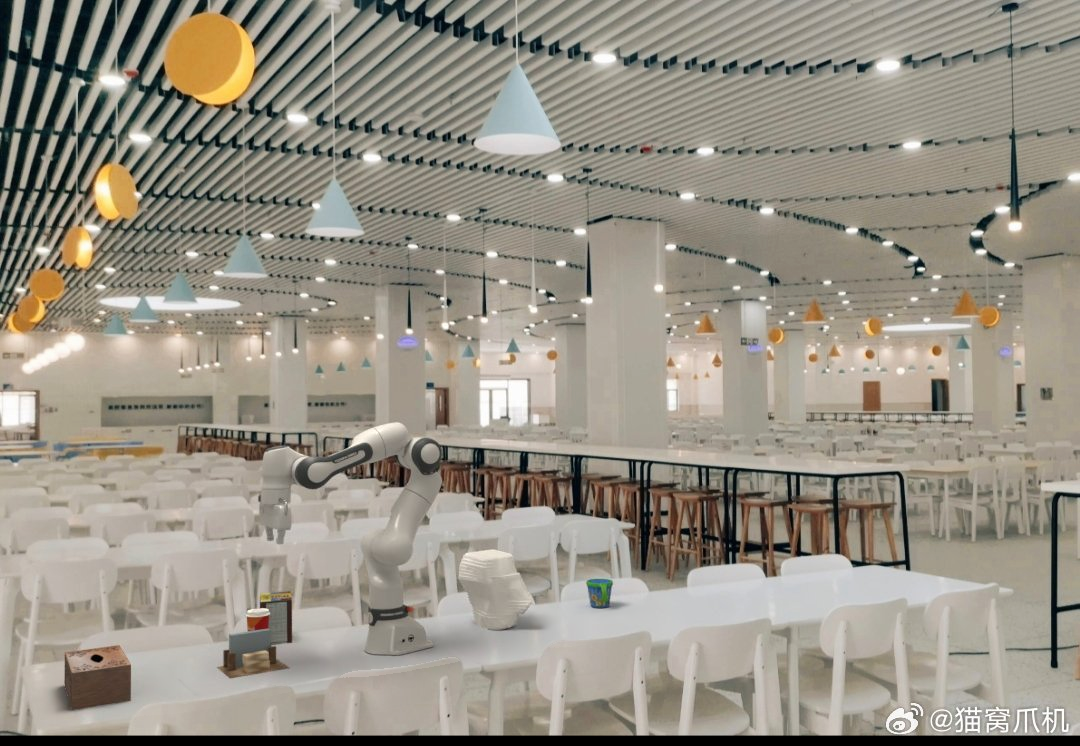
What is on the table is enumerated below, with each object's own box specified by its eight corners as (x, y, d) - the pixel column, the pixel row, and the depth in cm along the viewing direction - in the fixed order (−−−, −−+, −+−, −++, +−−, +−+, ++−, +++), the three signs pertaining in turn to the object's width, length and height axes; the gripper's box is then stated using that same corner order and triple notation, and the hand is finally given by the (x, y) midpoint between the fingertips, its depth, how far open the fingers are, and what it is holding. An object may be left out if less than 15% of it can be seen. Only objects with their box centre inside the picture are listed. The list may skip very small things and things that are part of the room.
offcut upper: (265, 658, 275) (264, 650, 275) (268, 660, 273) (268, 652, 273) (242, 662, 271) (242, 654, 271) (246, 664, 268) (246, 656, 268)
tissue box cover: (64, 687, 261) (64, 652, 261) (119, 679, 268) (119, 645, 269) (71, 711, 239) (71, 673, 239) (130, 701, 246) (131, 664, 247)
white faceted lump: (504, 615, 344) (503, 548, 346) (534, 630, 320) (533, 557, 321) (452, 622, 335) (451, 552, 336) (479, 637, 311) (478, 562, 312)
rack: (274, 659, 286) (274, 641, 286) (290, 670, 273) (290, 651, 274) (216, 669, 276) (216, 650, 276) (229, 681, 263) (229, 661, 264)
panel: (268, 660, 282) (268, 628, 282) (270, 662, 280) (270, 630, 280) (229, 667, 275) (229, 634, 276) (231, 669, 273) (231, 635, 274)
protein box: (290, 634, 319) (290, 590, 320) (292, 645, 304) (292, 598, 305) (259, 637, 316) (259, 593, 317) (260, 648, 301) (260, 601, 302)
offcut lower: (266, 666, 275) (266, 658, 275) (269, 669, 272) (269, 660, 273) (243, 670, 271) (243, 662, 271) (246, 673, 269) (246, 664, 269)
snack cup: (616, 610, 351) (615, 584, 351) (589, 611, 350) (589, 584, 350) (609, 602, 366) (609, 577, 367) (584, 603, 365) (583, 577, 366)
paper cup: (244, 652, 296) (244, 609, 297) (268, 649, 299) (268, 607, 300) (246, 658, 289) (246, 613, 289) (271, 655, 292) (271, 611, 292)
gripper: (297, 499, 274) (296, 545, 273) (275, 495, 291) (274, 538, 290) (276, 500, 271) (275, 546, 270) (256, 496, 288) (255, 539, 287)
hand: (274, 542), depth 280 cm, fingers open, 8 cm apart
